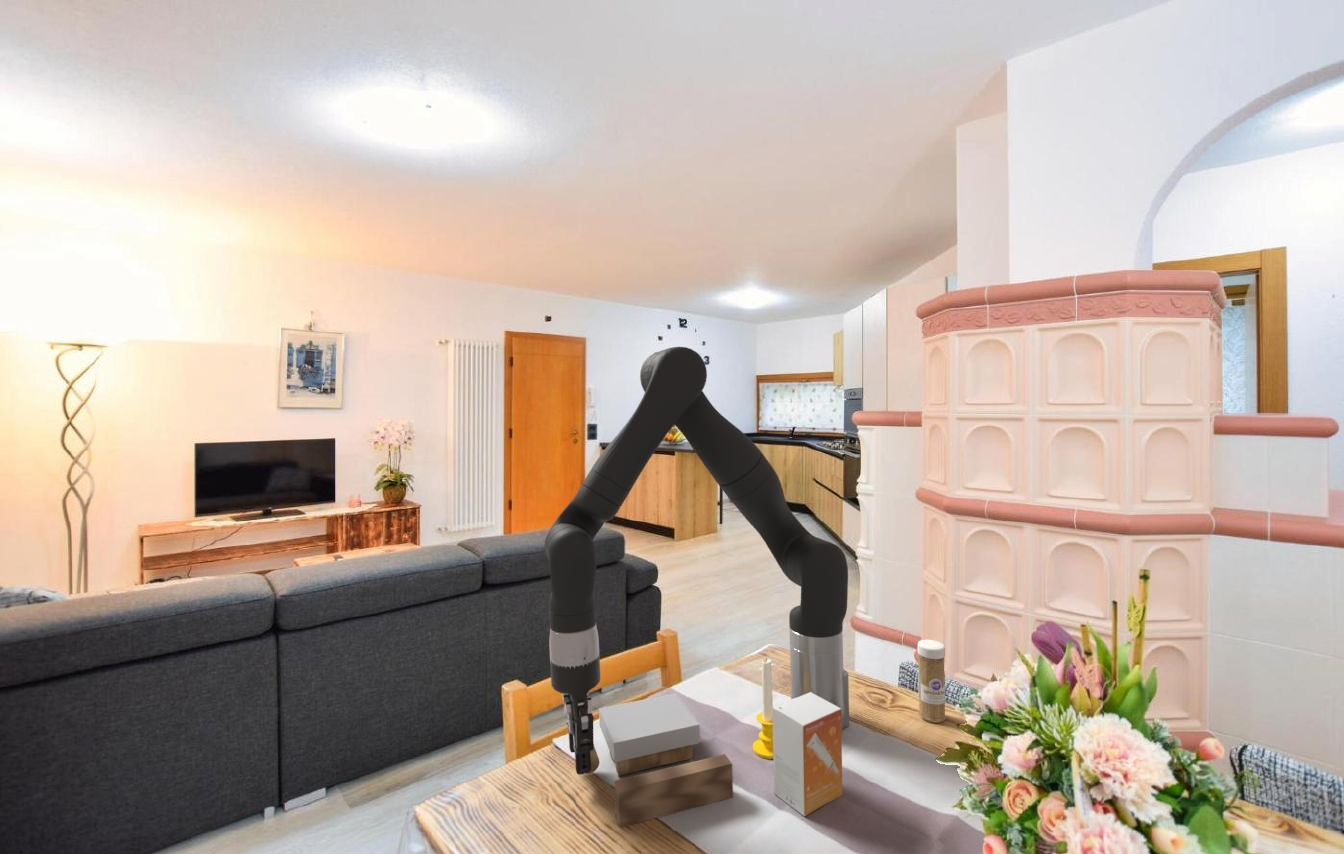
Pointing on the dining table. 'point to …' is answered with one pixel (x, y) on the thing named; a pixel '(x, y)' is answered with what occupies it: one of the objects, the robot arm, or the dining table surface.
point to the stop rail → (672, 789)
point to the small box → (807, 752)
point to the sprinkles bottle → (931, 680)
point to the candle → (766, 714)
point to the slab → (648, 727)
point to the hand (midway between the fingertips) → (580, 760)
